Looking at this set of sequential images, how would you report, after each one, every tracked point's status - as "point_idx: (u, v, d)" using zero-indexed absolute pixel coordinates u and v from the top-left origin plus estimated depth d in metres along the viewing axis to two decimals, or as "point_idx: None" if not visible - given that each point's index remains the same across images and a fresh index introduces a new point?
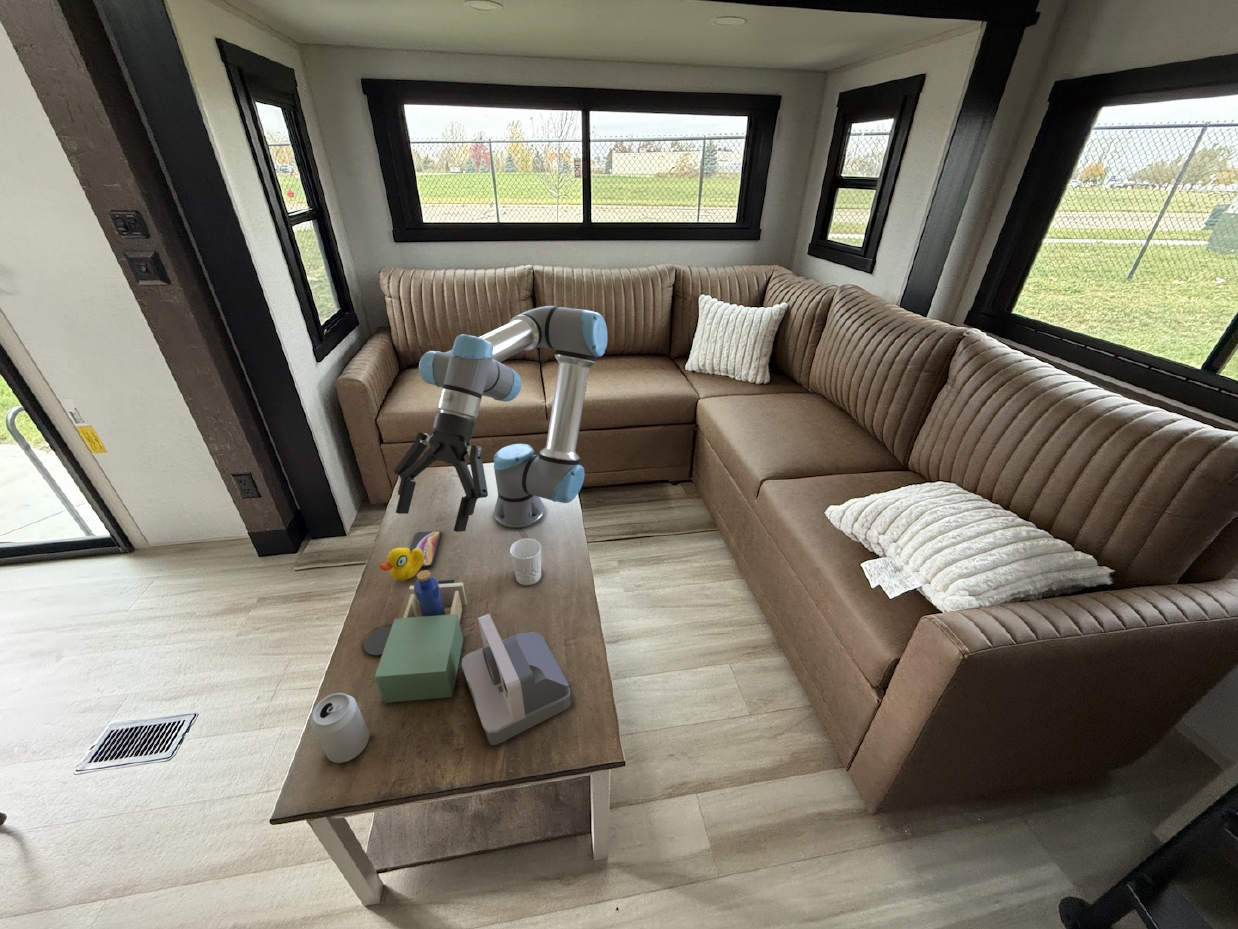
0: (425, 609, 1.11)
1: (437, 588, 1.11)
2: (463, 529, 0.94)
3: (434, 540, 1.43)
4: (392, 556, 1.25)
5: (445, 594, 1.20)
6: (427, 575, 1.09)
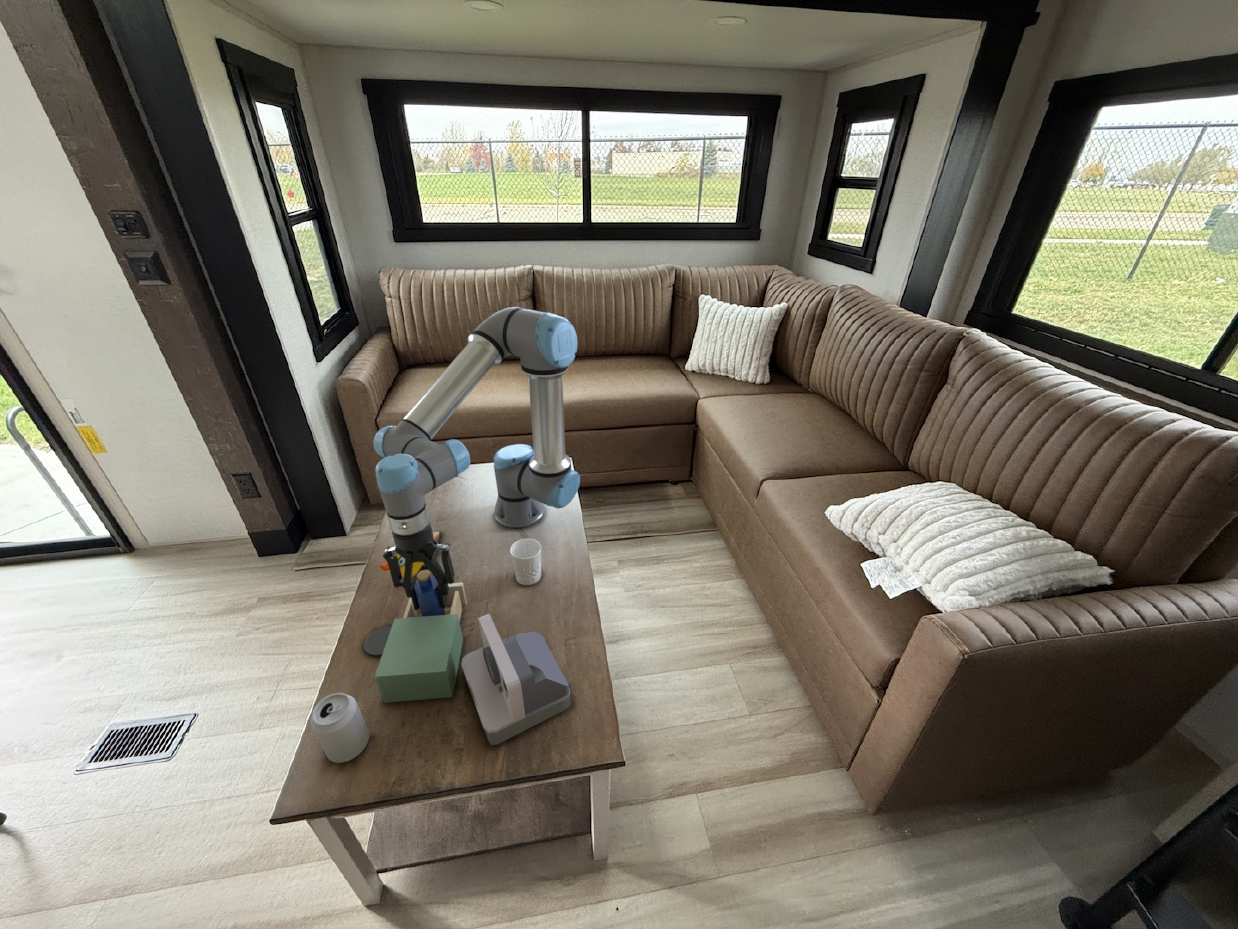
0: (425, 609, 1.12)
1: None
2: (446, 600, 1.15)
3: None
4: None
5: None
6: (427, 575, 1.09)
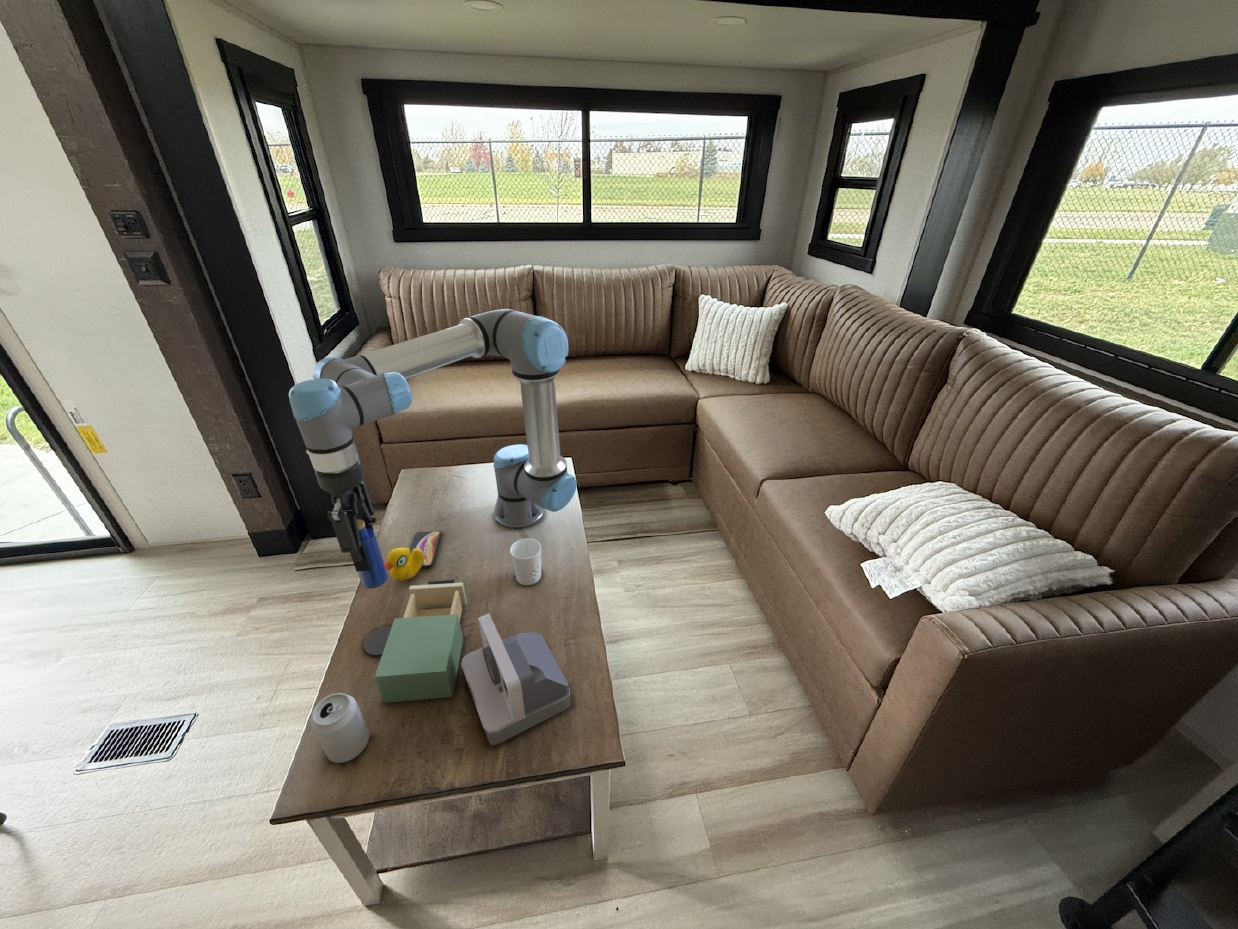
0: None
1: None
2: (366, 569, 1.00)
3: (434, 540, 1.43)
4: (392, 556, 1.25)
5: (445, 594, 1.20)
6: None
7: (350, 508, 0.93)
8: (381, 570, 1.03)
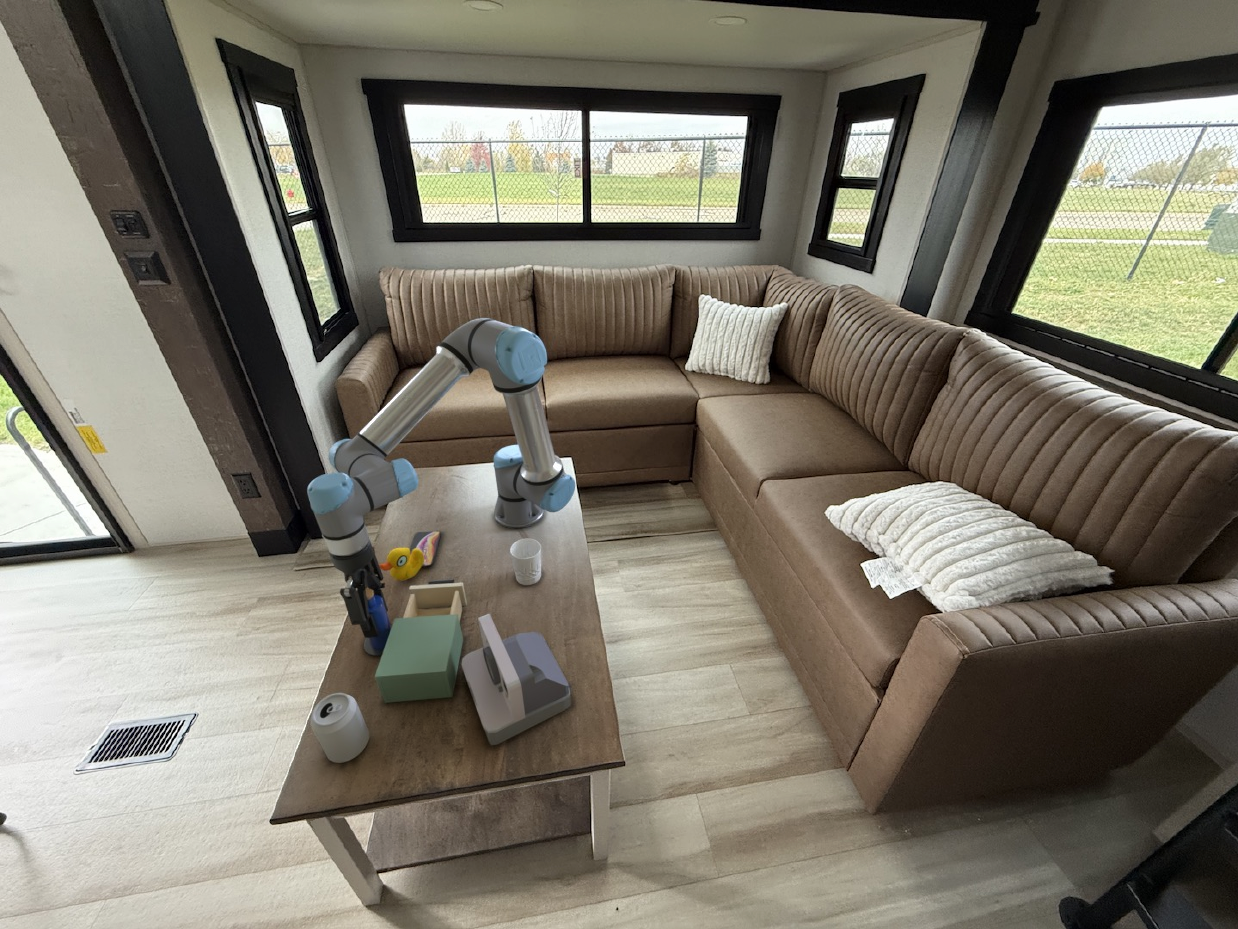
0: None
1: None
2: (373, 636, 1.08)
3: (434, 540, 1.43)
4: (392, 556, 1.25)
5: (445, 594, 1.20)
6: None
7: (361, 583, 1.02)
8: (388, 633, 1.12)
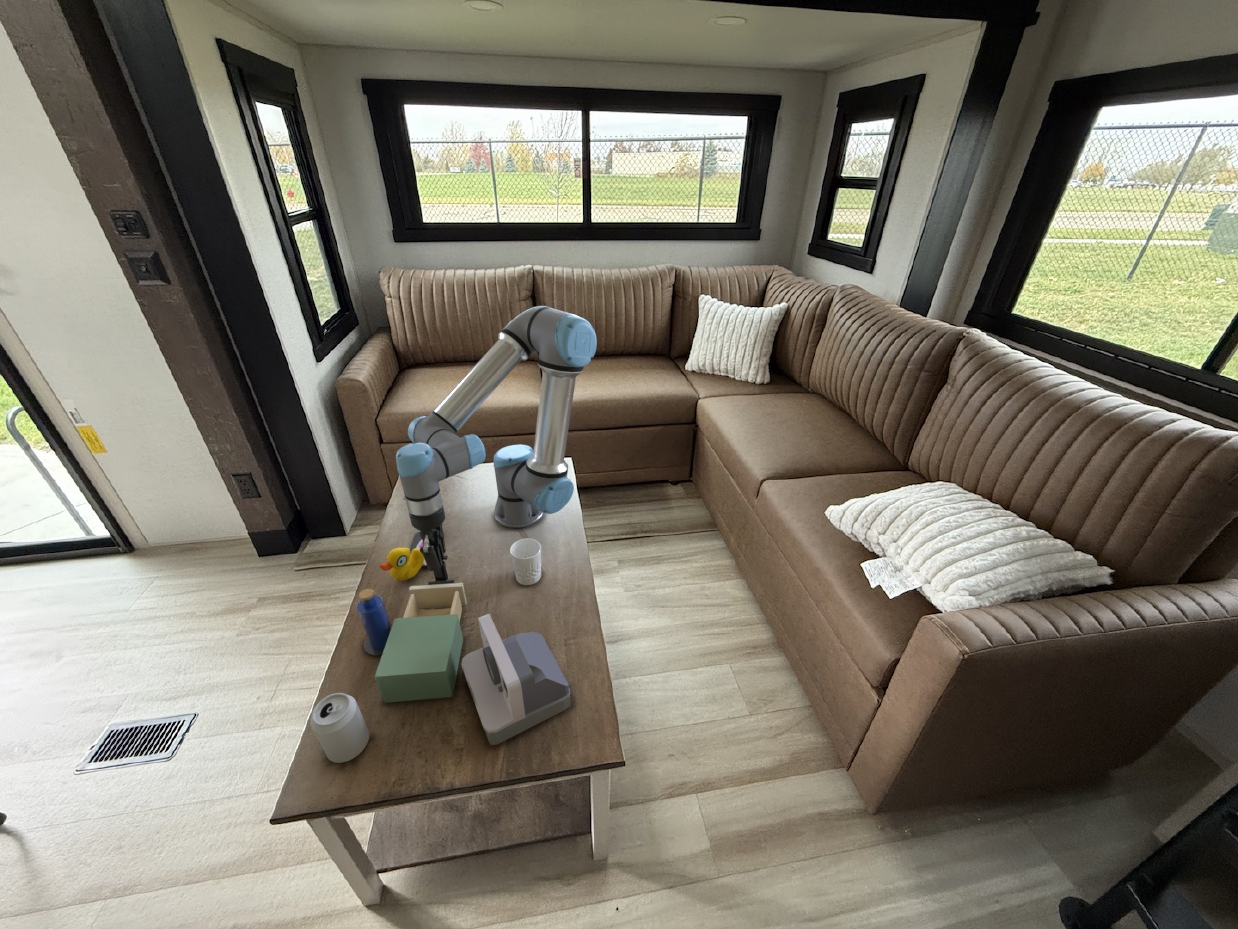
0: None
1: (363, 615, 1.06)
2: None
3: None
4: (392, 556, 1.25)
5: (445, 594, 1.20)
6: (362, 596, 1.06)
7: (434, 542, 1.16)
8: (388, 632, 1.12)
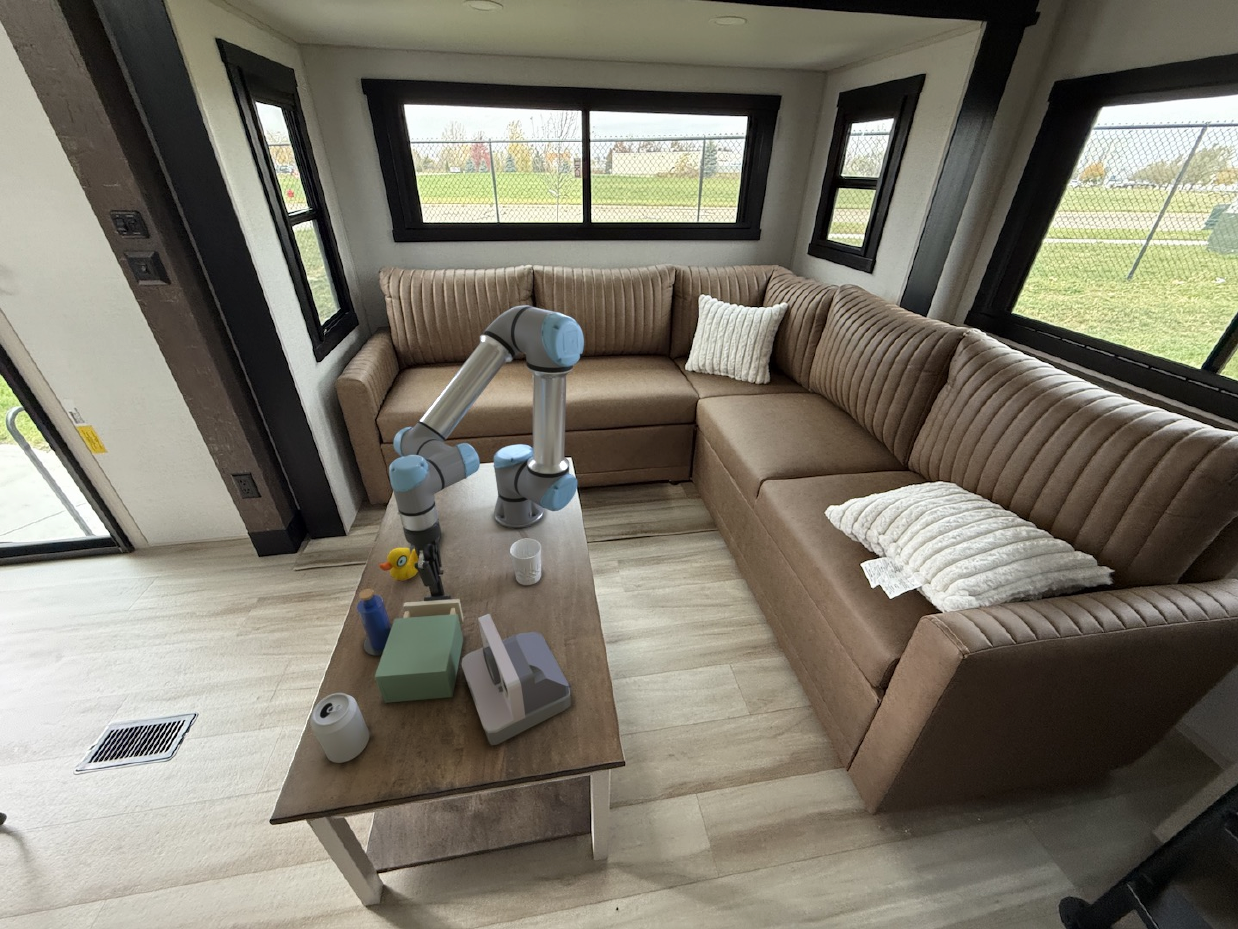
0: None
1: (363, 615, 1.06)
2: None
3: None
4: (392, 556, 1.25)
5: (441, 611, 1.16)
6: (362, 596, 1.06)
7: (429, 557, 1.12)
8: (388, 632, 1.12)
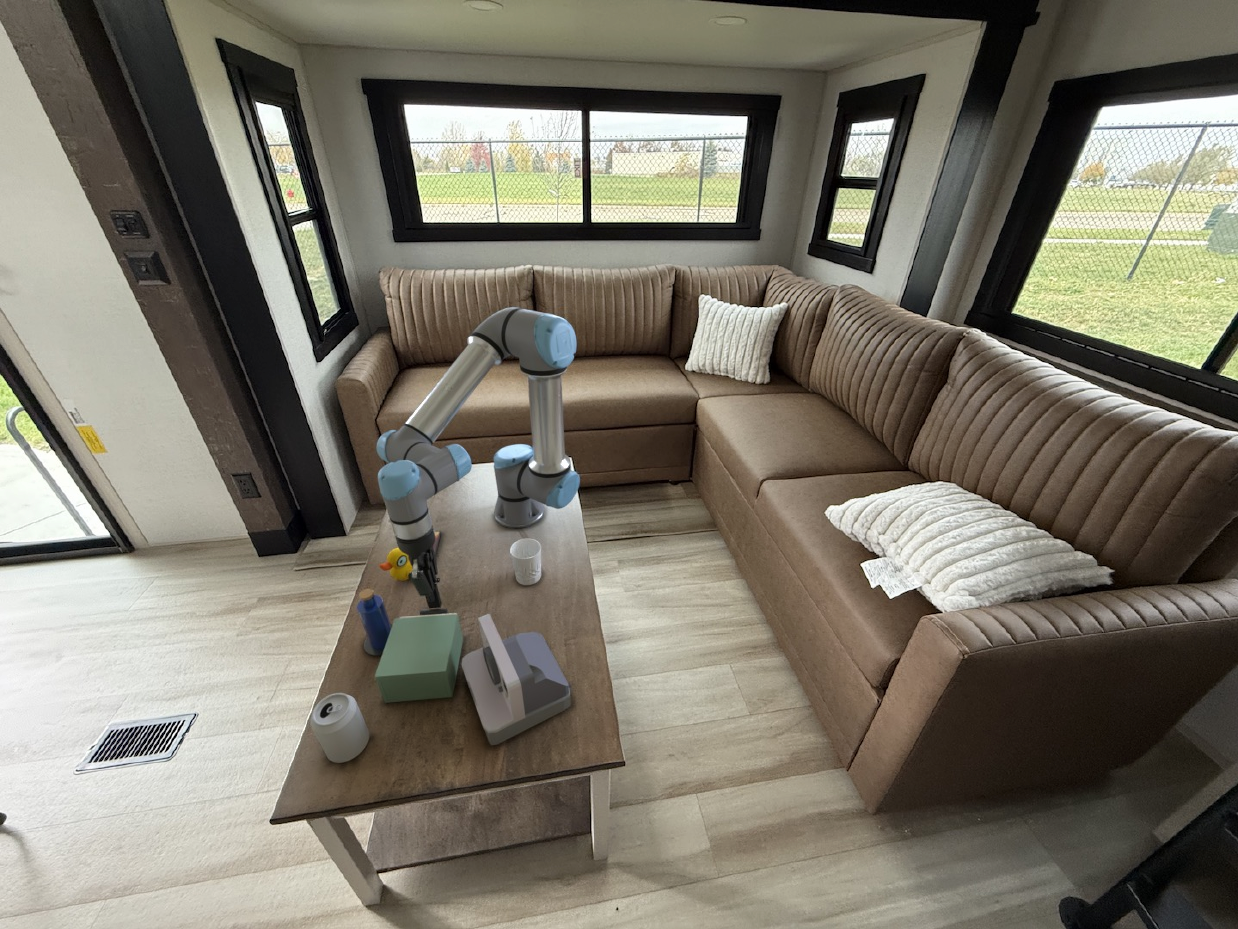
0: None
1: (363, 615, 1.06)
2: (437, 606, 1.16)
3: None
4: (392, 556, 1.25)
5: None
6: (362, 596, 1.06)
7: (424, 566, 1.07)
8: (388, 632, 1.12)
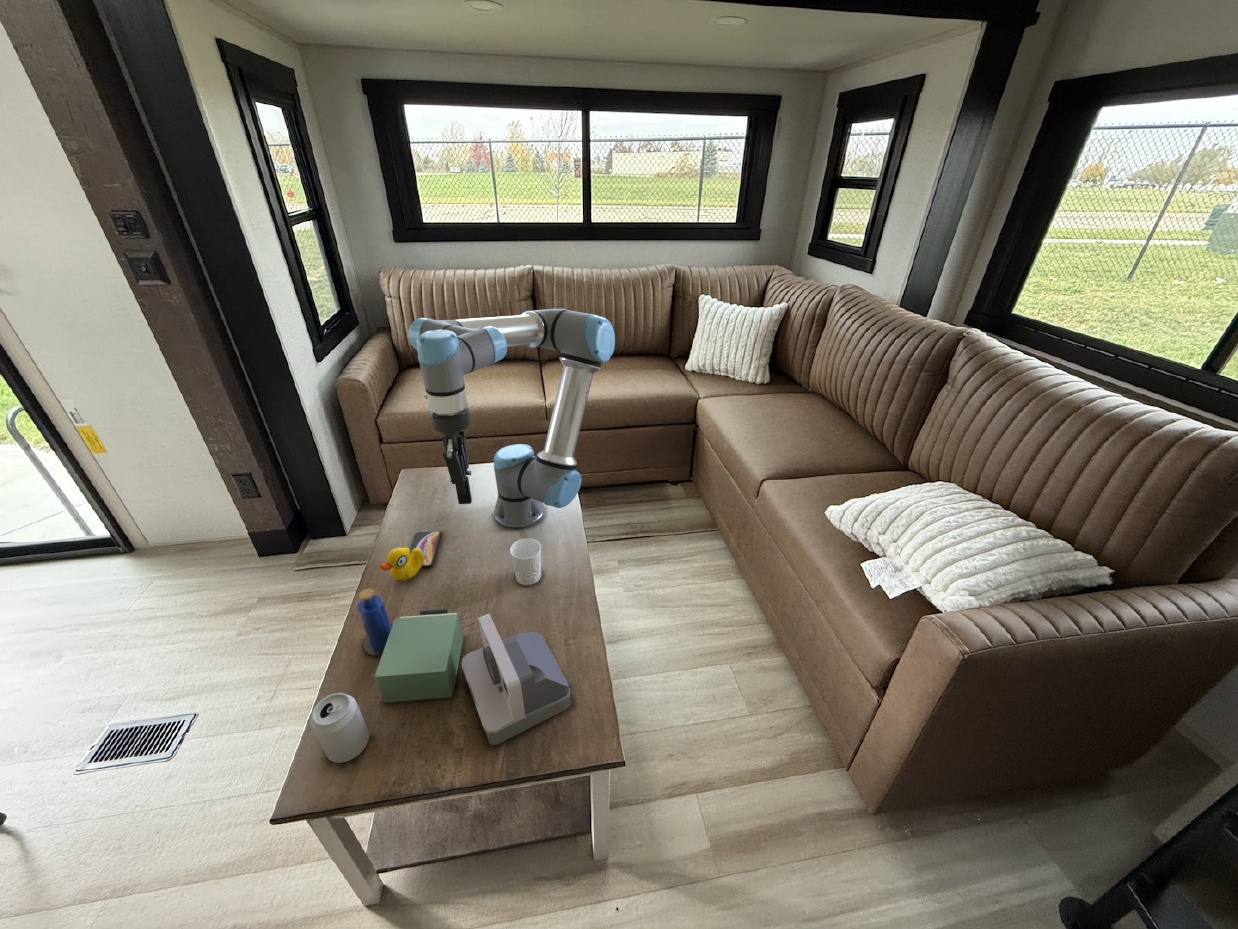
0: None
1: (363, 615, 1.06)
2: (467, 502, 1.13)
3: (434, 540, 1.43)
4: (392, 556, 1.25)
5: None
6: (362, 596, 1.06)
7: (457, 449, 1.04)
8: (388, 632, 1.12)
